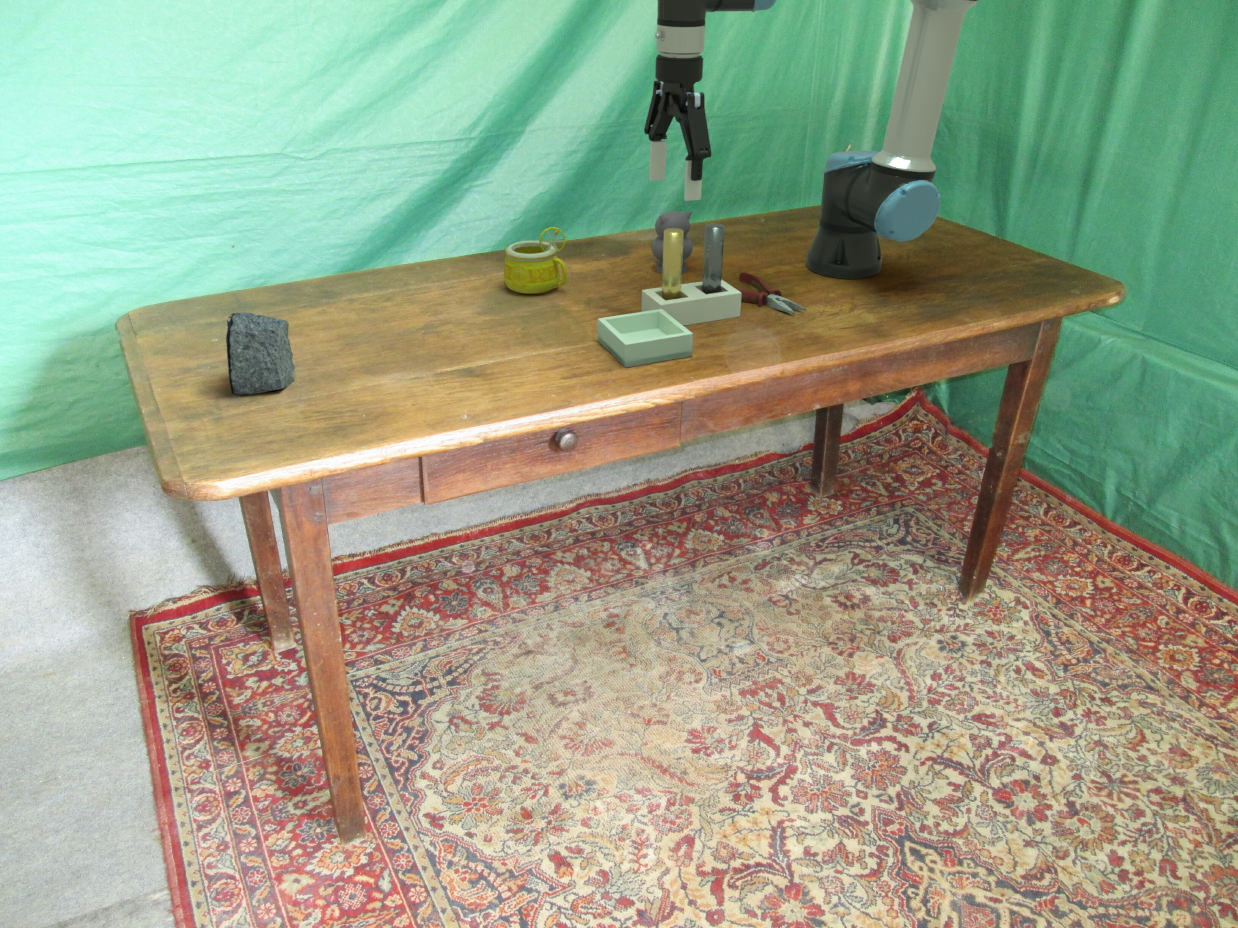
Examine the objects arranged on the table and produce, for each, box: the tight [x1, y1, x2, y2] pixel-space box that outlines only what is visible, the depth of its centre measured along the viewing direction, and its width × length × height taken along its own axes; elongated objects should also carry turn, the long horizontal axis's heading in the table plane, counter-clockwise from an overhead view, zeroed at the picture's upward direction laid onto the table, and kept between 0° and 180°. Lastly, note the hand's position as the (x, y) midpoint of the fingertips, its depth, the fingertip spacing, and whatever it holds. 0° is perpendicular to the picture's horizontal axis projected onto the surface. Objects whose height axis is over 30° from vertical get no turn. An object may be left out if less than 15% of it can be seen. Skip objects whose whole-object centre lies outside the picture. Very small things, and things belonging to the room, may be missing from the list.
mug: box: [503, 226, 568, 295], centre depth 188 cm, size 13×11×12 cm
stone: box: [225, 312, 296, 396], centre depth 150 cm, size 12×10×10 cm
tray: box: [597, 309, 694, 369], centre depth 165 cm, size 12×12×4 cm
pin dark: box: [701, 222, 726, 294], centre depth 176 cm, size 3×3×16 cm
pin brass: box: [661, 228, 684, 301], centre depth 174 cm, size 3×3×16 cm
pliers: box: [736, 271, 807, 316], centre depth 186 cm, size 12×20×3 cm, turn 39°
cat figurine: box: [651, 210, 694, 275], centre depth 197 cm, size 8×8×12 cm
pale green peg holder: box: [640, 278, 742, 327], centre depth 178 cm, size 16×8×4 cm, turn 113°
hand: (674, 189), depth 166 cm, fingers open, 13 cm apart
